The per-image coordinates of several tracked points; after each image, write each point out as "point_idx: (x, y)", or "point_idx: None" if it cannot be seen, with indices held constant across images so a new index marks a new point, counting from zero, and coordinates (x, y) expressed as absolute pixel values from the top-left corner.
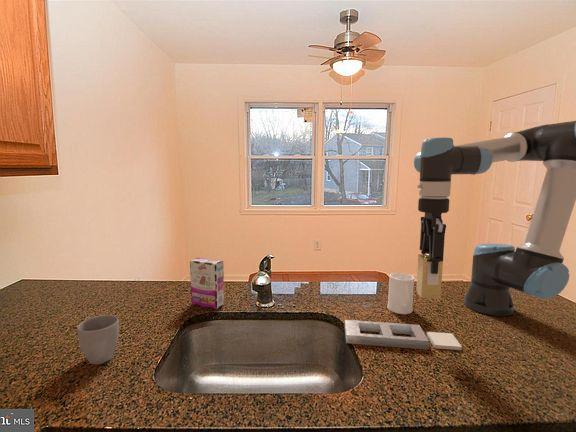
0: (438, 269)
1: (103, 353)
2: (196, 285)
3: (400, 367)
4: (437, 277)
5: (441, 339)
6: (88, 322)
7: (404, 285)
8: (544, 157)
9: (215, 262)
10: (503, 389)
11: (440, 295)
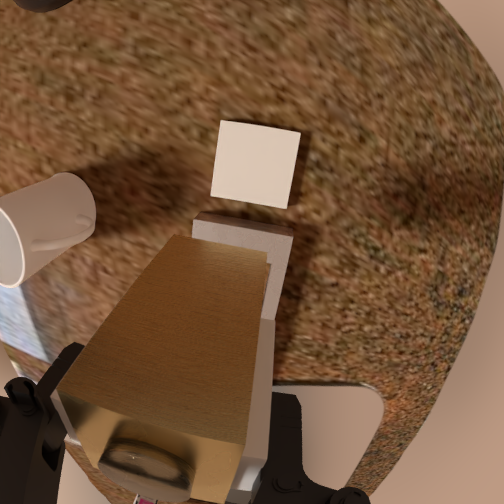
0: (270, 402)
1: None
2: None
3: (352, 321)
4: (273, 359)
5: (257, 173)
6: None
7: (39, 250)
8: None
9: None
10: (448, 145)
11: (265, 261)
